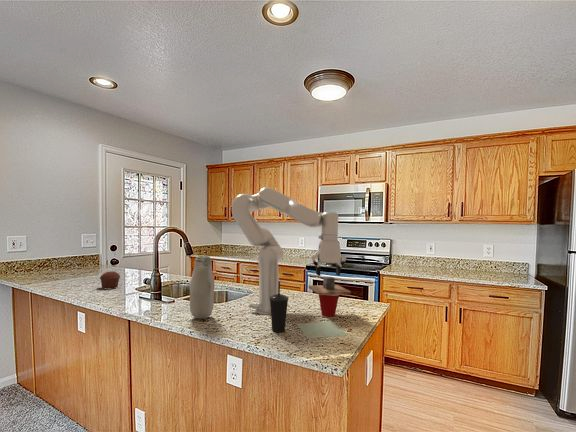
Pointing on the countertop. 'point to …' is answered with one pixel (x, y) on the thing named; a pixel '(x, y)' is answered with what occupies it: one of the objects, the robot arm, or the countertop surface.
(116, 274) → the muffin
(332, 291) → the lid
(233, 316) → the countertop surface
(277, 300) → the drinking cup
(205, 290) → the gray bottle
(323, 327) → the mat
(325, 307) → the plastic cup
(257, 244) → the robot arm
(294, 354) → the countertop surface
